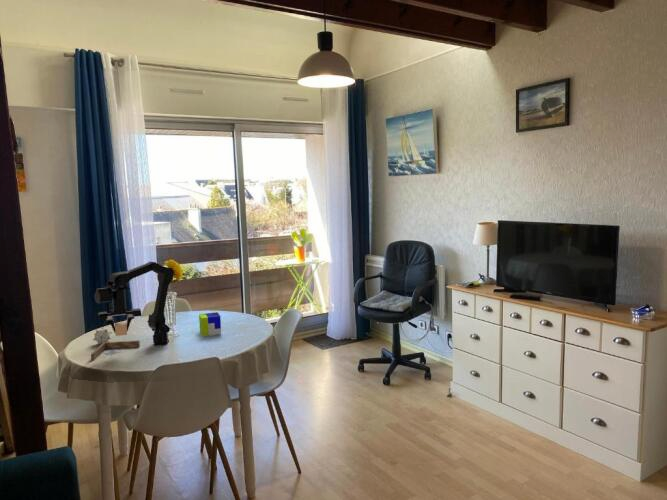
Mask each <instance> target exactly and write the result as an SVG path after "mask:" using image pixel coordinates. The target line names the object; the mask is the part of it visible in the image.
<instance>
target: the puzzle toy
mask: <svg viewBox="0 0 667 500" xmlns="http://www.w3.org/2000/svg"><path fill="white" fill-rule="evenodd" d="M221 318H222V317H221V315H220V314H219V312H218V311H217V312H207V313H199V314H198V319H199V320H198V321H199V332H201V333H200V335H201V334H202V335H201V336H202V337H208V336H207V335H210V336H216V335H215V334H219V335H222V323H221V322H222V321H221Z"/></svg>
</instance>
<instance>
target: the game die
mask: <svg viewBox="0 0 667 500" xmlns="http://www.w3.org/2000/svg"><path fill="white" fill-rule="evenodd" d="M111 334H112V332H110V331H109V330H108V329H104V327H101V329H98V330H97V329H95V333H93V335H94V338H93V339H92V341H95V342H97V344H100V345H101V344H102V343H104V342H110V341H109V340H111Z"/></svg>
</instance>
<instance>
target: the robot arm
mask: <svg viewBox="0 0 667 500" xmlns="http://www.w3.org/2000/svg"><path fill="white" fill-rule="evenodd" d="M150 272H153V273H155V274H156V275H157V281H158V285H157V290H156V291H157V292H156V299H155V304H154V309H153V312H152V313H151V314H148V320H147V321H146V322H147V324H148V325H147V326H148V327H149V328H150V329H151V331H152V332H153V334H152V341H153V345H154V346H163V345H168V343H169V342H170V339H169V332H170V331H171V327H170V326H169V325H167V324H166V316H165V307H166V302H167V296H168V290H169V286H170V284H171V282H172V281H173V278H174V277H175V271H174V268H172V267H170V266H169V267H168V266H164V265H162V264H159V263H157V262H155V261H148V262H147V263H144V264H141V265H139V266H136V267H134V268H132V269H128V270H125V271H119V272H114V273H111V275H110V276H109V278H108V279H109V280H108V282H107V283H106V285H105V286H104V287H102V288H95V290H96V291H95V293H94V297H93V298H94V301H95V303H96V304H103V303H109V311H112V312H109V313H108V311H100V312H98V313H97V317H98V319H97V320H98V321H106V322H108V323H109V324H110V326H111V328H112V330H113V332H114V334H115V323H114V318H116V317H124V316H126V324H127V332H129V328H130V324H131V323H132V320H133V319H135V317H141V316H142V310H141V308H131V310H129V311H127V301H126V290H130V287H129V286H127V284H129V283H130V281H132V280H133V279H136V278H137V277H140V276H142V275H145V274H147V273H150ZM110 302H112V303H110Z"/></svg>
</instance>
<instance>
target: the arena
mask: <svg viewBox="0 0 667 500" xmlns="http://www.w3.org/2000/svg"><path fill="white" fill-rule="evenodd" d="M140 344H141V343H140V340H122V341H121V340H120V341H118V340H117V341H109V342H104V343H102V344H101V343H100V345H99V346H98V347H97V348H96V349H95V350H93V351H92V352H91V353H90V360H91V361H95V360H96V359H97V358H98V357H99V356H100V355H102V353H103V354H105V355H108V356H111V355H115V354H119V353H122V352H123V351H122V350H119V349H125V348H140V346H141V345H140ZM107 349H111V350H107ZM105 350H107V351H105Z"/></svg>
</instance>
